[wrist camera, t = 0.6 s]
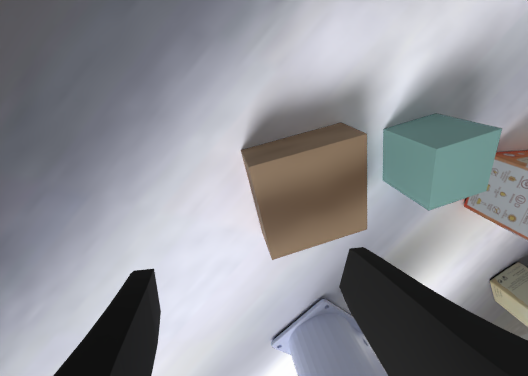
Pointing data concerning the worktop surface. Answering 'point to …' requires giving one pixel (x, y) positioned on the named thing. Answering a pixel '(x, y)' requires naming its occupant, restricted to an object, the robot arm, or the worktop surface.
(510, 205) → the cracker box
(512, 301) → the skincare box
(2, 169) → the worktop surface
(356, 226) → the walnut block
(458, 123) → the teal cube
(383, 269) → the robot arm
